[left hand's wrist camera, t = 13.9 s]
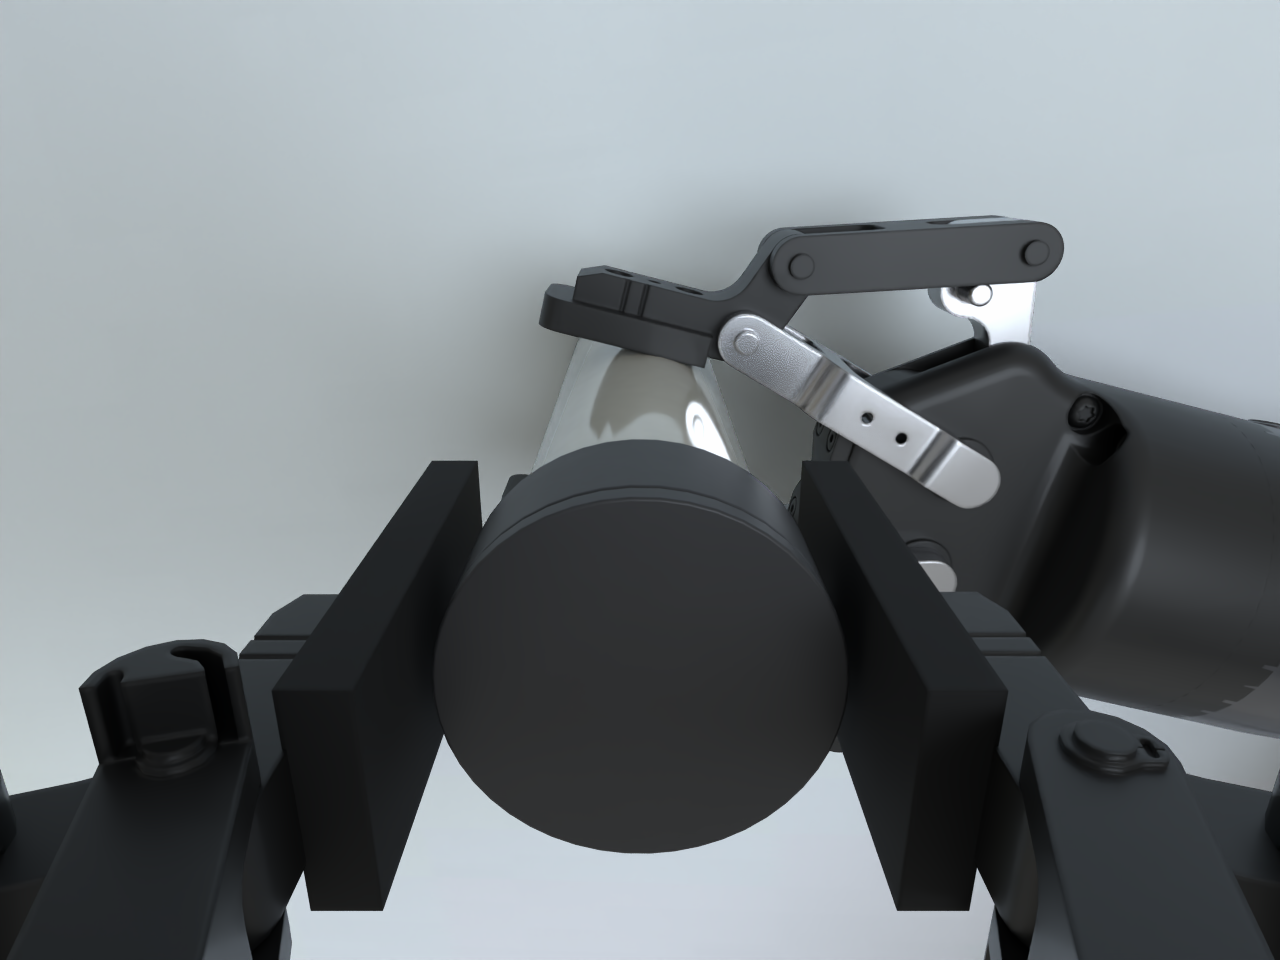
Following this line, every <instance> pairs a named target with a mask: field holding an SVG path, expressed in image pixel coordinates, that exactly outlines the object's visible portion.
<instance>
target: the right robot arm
mask: <svg viewBox="0 0 1280 960" xmlns="http://www.w3.org/2000/svg"><path fill="white" fill-rule="evenodd" d="M1063 253H1064V243H1063V238H1062V236H1061V234H1060V233H1059V231H1058V230H1057V229H1056V228H1055V227H1053V226H1052V225H1050V224H1047V223H1043V222H1037V221H1030V220H1023V219H1016V218H1009V217H1003V216H996V215H989V216H972V217H955V218H938V219H922V220H905V221H888V222H871V223H854V224H837V225H821V226H804V227H787V228H778V229H775V230H773V231H771V232H770V233H768V234H767V235H766V236H765V237H764V238H763V239H762V241H761V243H760V245H759V247H758V251H757V254H756V256H755V257H754V258H753V260H752V261H751V263H750V264H749V266H748V267H747V268H746V270H745V271H744V273H743V274H742V275H741V277H740V278H739V279H738V280H737V281H736V282H735V283H734V284H733V285H731V286H730V287H728V288H726V289H724V290H720V291H714V292H709V291H703V290H699V289H695V288H691V287H687V286H683V285H679V284H676V283H672V282H668V281H664V280H660V279H656V278H652V277H647V276H644V275H640V274H636V273H633V272H628V271H625V270H621V269H617V268H613V267H609V266H597V267H590V268H583V269H581V271H580V272H579V274H578V276H577V280H576V285H575V287H572V286H568V285H562V284H551V285H550V286H549V288H548V289H547V290H546V292H545V296H544V301H543V305H542V310H541V315H540V320H539V324H540V325H541V326H542V327H544V328H547V329H549V330H552V331H556V332H559V333H563V334H567V335H571V336H575V337H579V338H583V339H588V340H592V341H596V342H600V343H604V344H608V345H612V346H616V347H620V348H624V349H628V350H632V351H636V352H640V353H644V354H648V355H652V356H656V357H662V358H666V359H669V360H673V361H676V362H680V363H684V364H688V365H692V366H696V367H700V368H705V365H706V361H707V358H708V357H709V358H713V359H717V360H721V361H725V362H726V363H727V364H729V365H730V366H731V367H733V368H735V369H736V370H738V371H740V372H742V373H743V374H745V375H747V376H748V377H750V378H752V379H753V380H755V381H757V382H758V383H760V384H762V385H763V386H765V387H767V388H768V389H770V390H772V391H774V392H775V393H777V394H779V395H780V396H782V397H784V398H785V399H787V400H789V401H790V402H792V403H793V404H795V405H796V406H798V407H799V408H800V409H801V410H803V411H804V412H805V413H806V414H808V415H809V416H810V417H812V418H813V419H815V420H816V421H817V423H816V426H815V429H814V432H813V447H812V461H848V462H849V463H850V465H851V466H852V467H853V469H854V470H855V472H856V473H857V475H858V476H859V477H860V479H861V480H862V482H863V483H864V485H865V486H866V487H867V489H868V490H869V492H870V493H871V495H872V496H873V497H874V499H875V500H876V502H877V503H878V505H879V506H880V507H881V509H882V510H883V512H884V513H885V515H886V516H887V517H888V519H889V520H890V522H891V523H892V525H893V526H894V527H895V529H896V530H897V532H898V533H899V535H900V536H901V537H902V539H903V540H904V542H905V543H906V545H907V546H908V547H909V549H910V550H911V552H912V553H913V555H914V556H915V557H916V559H917V560H918V562H919V563H920V565H921V566H922V567H923V569H924V570H925V572H926V573H927V575H928V576H929V577H930V579H931V580H932V582H933V583H934V585H935V586H936V587H937V589H938V590H939V592H978V593H980V594H981V595H983V596H985V597H986V598H988V599H990V600H991V601H993V602H994V603H996V604H998V605H999V606H1001V607H1003V608H1004V609H1006V610H1007V611H1008V612H1009V613H1010V614H1011V615H1012V616H1013V618H1014V619H1015V620H1016V621H1017V622H1018V624H1019V625H1020V626H1021V627H1022V629H1023V630H1024V631H1025V632H1026V637H1030V638H1031V639H1032V641H1033V642H1034V643H1035V644H1036V646H1037V647H1038V648H1039V649H1040V650H1041V655H1042V656H1046V658H1047V659H1048V660H1049V661H1050V663H1051V664H1052V665H1053V666H1054V667H1055V669H1056V670H1057V671H1058V672H1059V674H1060V675H1061V676H1062V677H1063V678H1064V680H1065V681H1066V682H1067V683H1068V684H1069V686H1070V687H1071V688H1072V689H1073V691H1074V692H1075V693H1076V694H1077V695H1078V696H1080V697H1085V698H1089V699H1094V700H1098V701H1103V702H1107V703H1112V704H1116V705H1121V706H1126V707H1130V708H1135V709H1139V710H1144V711H1148V712H1153V713H1157V714H1162V715H1166V716H1171V717H1176V718H1180V719H1185V720H1189V721H1194V722H1198V723H1203V724H1207V725H1212V726H1216V727H1221V728H1225V729H1230V730H1234V731H1239V732H1243V733H1249V734H1255V735H1260V736H1266V737H1272V738H1278V739H1280V424H1278V423H1273V422H1268V421H1261V420H1248V421H1247V420H1243V419H1239V418H1235V417H1232V416H1228V415H1224V414H1220V413H1216V412H1212V411H1208V410H1204V409H1200V408H1196V407H1192V406H1188V405H1185V404H1181V403H1177V402H1173V401H1169V400H1165V399H1161V398H1157V397H1153V396H1149V395H1145V394H1142V393H1138V392H1134V391H1130V390H1126V389H1122V388H1118V387H1114V386H1110V385H1106V384H1102V383H1099V382H1095V381H1091V380H1087V379H1083V378H1079V377H1075V376H1071V375H1068V374H1065V373H1063V372H1062V371H1061V370H1059V369H1058V368H1057V367H1056V366H1055V365H1054V363H1053V362H1052V361H1051V360H1050V359H1049V357H1048V356H1047V355H1045V354H1044V353H1043V352H1042V351H1040V350H1039V349H1037V348H1036V347H1034V346H1031V345H1030V340H1031V331H1032V321H1033V311H1034V302H1035V292H1036V283H1037V281H1040V280H1043V279H1045V278H1046V277H1048V276H1049V275H1051V274H1052V273H1053V272H1054V271H1055V270H1056V268H1057V267H1058V265H1059V264H1060V262H1061V260H1062V257H1063ZM910 289H928V295H929V297H930V299H931V301H932V303H933V304H934V305H935V306H937V307H938V308H940V309H942V310H944V311H946V312H948V313H950V314H952V315H954V316H957V317H961V318H968V319H969V320H970V322H971V324H972V326H973V329H974V337H972V338H970V339H967V340H964V341H962V342H959V343H956V344H954V345H951V346H949V347H946V348H943V349H941V350H938V351H935V352H933V353H930V354H928V355H925V356H922V357H920V358H917V359H914V360H912V361H909V362H906V363H904V364H901V365H899V366H896V367H893V368H891V369H888V370H885V371H883V372H880V373H877V374H875V375H872V374H870V373H868V372H867V371H865V370H863V369H862V368H860V367H858V366H857V365H855V364H854V363H852V362H850V361H849V360H847V359H845V358H844V357H842V356H841V355H839V354H837V353H836V352H834V351H832V350H831V349H829V348H827V347H826V346H824V345H823V344H821V343H819V342H818V341H816V340H814V339H812V338H810V337H807V336H806V335H804V334H802V333H800V332H799V331H797V330H795V329H794V328H792V327H791V326H789V325H787V324H788V322H789V321H790V319H791V318H792V317H793V315H794V314H795V313H796V311H797V310H798V309H799V307H800V306H801V305H802V303H803V302H804V300H805V299H806V298H807V296H808V295H824V294H841V293H858V292H876V291H893V290H910ZM527 476H528V475H525V474H517V475H513V476H511V477H510V478H509V481H508V483H507V486H506V488H505V490H504V493H503V495H502V499H503V498H504V497H505V496H506V495H507V494H508V493H509V492H510V491H511V490H512V489H513V488H514V487H515V486H516V485H517V484H518V483H519V482H520V481H521V480H523V479H524V478H526V477H527ZM800 488H801V480H800V482H799V483H798V485H797V486H796V488H795V489H794V491H793V494H792V497H791V500H790V503H789V504H783V505H784V506H785V507H786V509H787V510H788V512H789V513H790V514H791V516H792V517H793V518H794V520H795V522H796V524H797V526H798V516H799V502H800ZM830 751H832V752H842V749H841V746H840V743H839V740H838V738H837V736H836V738H835V740H834V743H833V745H832V747H831V749H830Z"/></svg>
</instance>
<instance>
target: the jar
mask: <svg viewBox="0 0 1280 960" xmlns="http://www.w3.org/2000/svg"><path fill="white" fill-rule="evenodd" d="M629 439H648V440H662V441H669V442H676V443H682V444H686V445H689V446H693V447H697V448H700V449H704V450H706V451H709V452H711V453H714V454H716V455H718V456H721V457H723V458H726V459H728V460H729V461H731V462H733V463H734V464H736V465H738V466H740V467H741V468H743V469H745V470H746V471H748V472H749V469H748V466H747V464H746V461H745V458H744V455H743V452H742V449H741V447H740V444H739V441H738V438H737V435H736V433H735V430H734V427H733V424H732V421H731V418H730V416H729V413H728V410H727V407H726V404H725V401H724V399H723V396H722V393H721V390H720V387H719V384H718V382H717V379H716V376H715V373H714V370H713V367H712V365H711V362H710V359H709V357H708V358H707V361H706V365H705V368H700V367H696V366H692V365H688V364H684V363H680V362H676V361H673V360H669V359H666V358H662V357H656V356H652V355H648V354H644V353H640V352H636V351H632V350H628V349H624V348H620V347H616V346H612V345H608V344H604V343H600V342H596V341H592V340H588V339H583V338H579V340H578V343H577V345H576V348H575V350H574V353H573V356H572V359H571V362H570V365H569V367H568V370H567V373H566V376H565V379H564V382H563V384H562V387H561V390H560V393H559V396H558V399H557V401H556V404H555V407H554V410H553V413H552V416H551V418H550V421H549V424H548V427H547V430H546V433H545V435H544V438H543V441H542V444H541V447H540V450H539V452H538V455H537V458H536V461H535V464H534V467H533V469H532V472H531V473H533V472H534V471H535V470H537V469H538V468H540V467H541V466H543V465H545V464H547V463H549V462H551V461H553V460H554V459H556V458H558V457H560V456H562V455H565V454H568V453H570V452H573V451H576V450H578V449H581V448H584V447H588V446H592V445H596V444H600V443H605V442H610V441H620V440H629ZM749 473H750V472H749Z"/></svg>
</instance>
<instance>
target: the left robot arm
mask: <svg viewBox="0 0 1280 960" xmlns="http://www.w3.org/2000/svg"><path fill="white" fill-rule="evenodd" d="M798 528H799V529H800V531H801V533H802V535H803V537H804V539H805V541H806V544H807V546H808V548H809V550H810V553H811V555H812V557H813V560H814V562H815V564H816V566H817V569H818V571H819V573H820V576H821V578H822V580H823V583H824V585H825V587H826V589H827V592H828V594H829V596H830V599H831V601H832V603H833V605H834V608H835V610H836V612H837V615H838V618H839V621H840V624H841V627H842V629H843V632H844V635H845V641H846V646H847V651H848V657H849V689H848V697H847V705H846V708H845V712H844V716H843V719H842V723H841V726H840V729H839V731H838V734H837V738H838V740H839V743H840V746H841V749H842V752H843V755H844V758H845V761H846V764H847V767H848V769H849V772H850V775H851V778H852V781H853V784H854V787H855V790H856V793H857V796H858V799H859V801H860V804H861V807H862V810H863V813H864V816H865V819H866V822H867V825H868V828H869V830H870V833H871V836H872V839H873V842H874V845H875V848H876V851H877V854H878V857H879V860H880V862H881V865H882V868H883V871H884V874H885V877H886V880H887V883H888V886H889V889H890V891H891V894H892V897H893V900H894V903H895V906H896V909H897V911H969V909H970V903H971V898H972V892H973V887H974V881H975V875H976V870H977V868H978V870H979V872H980V874H981V877H982V879H983V881H984V883H985V885H986V887H987V889H988V891H989V893H990V895H991V897H992V900H993V902H994V904H995V905H994V910H993V915H992V920H991V926H990V931H989V936H988V941H987V946H986V952H985V957H984V960H1280V770H1279V773H1278V776H1277V779H1276V782H1275V785H1274V788H1273V792H1269V791H1265V790H1260V789H1255V788H1250V787H1245V786H1240V785H1235V784H1230V783H1225V782H1220V781H1215V780H1210V779H1205V778H1201V777H1197V776H1193V775H1190V774H1186V772H1185V770H1184V768H1183V766H1182V764H1181V762H1180V761H1179V760H1178V759H1177V757H1176V756H1175V755H1174V753H1173V752H1172V751H1171V750H1170V748H1169V747H1168V746H1167V745H1166V744H1165V743H1163V742H1162V741H1160V740H1159V739H1158V738H1156V737H1155V736H1153V735H1152V734H1151V733H1149V732H1148V731H1146V730H1145V729H1143V728H1141V727H1138V726H1136V725H1134V724H1132V723H1129V722H1127V721H1125V720H1123V719H1120V718H1118V717H1115V716H1111V715H1107V714H1103V713H1099V712H1095V711H1090V710H1089V709H1088V708H1087V706H1086V705H1085V704H1084V703H1083V701H1082V700H1081V699H1080V698H1079V697H1078V695H1077V694H1076V693H1075V692H1074V691H1073V689H1072V688H1071V687H1070V686H1069V684H1068V683H1067V682H1066V681H1065V680H1064V678H1063V677H1062V676H1061V675H1060V674H1059V672H1058V671H1057V670H1056V669H1055V667H1054V666H1053V665H1052V664H1051V663H1050V661H1049V660H1048V659H1047V658H1046V656H1042V655H1041V650H1040V649H1039V648H1038V647H1037V646H1036V644H1035V643H1034V642H1033V641H1032V639H1031V638H1030V637H1026V632H1025V631H1024V630H1023V629H1022V627H1021V626H1020V625H1019V624H1018V622H1017V621H1016V620H1015V619H1014V618H1013V616H1012V615H1011V614H1010V613H1009V612H1008V611H1007V610H1006V609H1004V608H1003V607H1001V606H999V605H998V604H996V603H994V602H993V601H991V600H990V599H988V598H986V597H985V596H983V595H981V594H980V593H978V592H939V590H938V589H937V587H936V586H935V585H934V583H933V582H932V580H931V579H930V577H929V576H928V575H927V573H926V572H925V570H924V569H923V567H922V566H921V565H920V563H919V562H918V560H917V559H916V557H915V556H914V555H913V553H912V552H911V550H910V549H909V547H908V546H907V545H906V543H905V542H904V540H903V539H902V537H901V536H900V535H899V533H898V532H897V530H896V529H895V527H894V526H893V525H892V523H891V522H890V520H889V519H888V517H887V516H886V515H885V513H884V512H883V510H882V509H881V507H880V506H879V505H878V503H877V502H876V500H875V499H874V497H873V496H872V495H871V493H870V492H869V490H868V489H867V487H866V486H865V485H864V483H863V482H862V480H861V479H860V477H859V476H858V475H857V473H856V472H855V470H854V469H853V467H852V466H851V465H850V463H849V462H848V461H802V474H801V488H800V502H799V516H798ZM481 530H482V516H481V502H480V488H479V474H478V461H432V462H431V463H430V465H429V466H428V467H427V469H426V470H425V472H424V473H423V475H422V476H421V477H420V479H419V480H418V482H417V483H416V485H415V486H414V487H413V489H412V490H411V492H410V493H409V495H408V496H407V497H406V499H405V500H404V502H403V503H402V505H401V506H400V507H399V509H398V510H397V512H396V513H395V515H394V516H393V517H392V519H391V520H390V522H389V523H388V525H387V526H386V527H385V529H384V530H383V532H382V533H381V535H380V536H379V537H378V539H377V540H376V542H375V543H374V545H373V546H372V547H371V549H370V550H369V552H368V553H367V555H366V556H365V557H364V559H363V560H362V562H361V563H360V565H359V566H358V567H357V569H356V570H355V572H354V573H353V575H352V576H351V577H350V579H349V580H348V582H347V583H346V585H345V586H344V587H343V589H342V590H341V592H340V593H339V594H303V595H302V596H300V597H299V598H297V599H295V600H294V601H292V602H291V603H289V604H287V605H286V606H284V607H282V608H281V609H279V610H278V611H276V612H274V613H273V614H272V615H271V616H270V617H269V619H268V620H267V621H266V622H265V624H264V625H263V626H262V627H261V628H260V630H259V631H258V632H257V633H256V635H255V636H254V637H255V638H254V640H251V641H250V642H249V643H248V644H247V646H246V647H245V648H244V649H243V650H242V652H241V653H240V654H239V659H238V656H237V652H235V651H234V650H233V649H231V648H230V647H229V646H227V645H226V644H224V643H219V642H214V641H209V640H205V639H198V640H176V641H171V642H166V643H162V644H157V645H152V646H148V647H144V648H142V649H139V650H137V651H134V652H131V653H129V654H126V655H124V656H121V657H118V658H116V659H115V660H113V661H111V662H110V663H108V664H107V665H105V666H103V667H102V668H100V669H98V670H97V671H95V672H93V674H92V675H91V676H90V677H89V678H88V679H87V680H86V681H85V682H84V683H83V684H82V685H81V686H80V687H79V692H80V695H81V699H82V703H83V706H84V710H85V714H86V717H87V721H88V725H89V728H90V732H91V736H92V739H93V743H94V747H95V750H96V754H97V758H98V761H99V766H98V768H97V770H96V772H95V774H94V776H93V778H90V779H86V780H82V781H78V782H74V783H69V784H64V785H59V786H54V787H49V788H44V789H39V790H35V791H30V792H25V793H20V794H15V795H10V796H9V795H8V792H7V788H6V785H5V782H4V779H3V776H2V773H1V770H0V960H290V955H291V946H292V940H291V933H290V926H289V920H288V915H287V910H286V906H287V904H288V902H289V900H290V898H291V896H292V893H293V891H294V889H295V887H296V885H297V883H298V881H299V879H300V877H301V875H302V872H303V870H304V875H305V881H306V887H307V892H308V898H309V903H310V909H311V911H383V909H384V906H385V903H386V900H387V897H388V894H389V891H390V889H391V886H392V883H393V880H394V877H395V874H396V871H397V868H398V865H399V862H400V859H401V857H402V854H403V851H404V848H405V845H406V842H407V839H408V836H409V833H410V830H411V828H412V825H413V822H414V819H415V816H416V813H417V810H418V807H419V804H420V801H421V798H422V796H423V793H424V790H425V787H426V784H427V781H428V778H429V775H430V772H431V769H432V767H433V764H434V761H435V758H436V755H437V752H438V749H439V746H440V743H441V740H442V737H443V735H444V732H443V730H442V727H441V725H440V722H439V719H438V714H437V710H436V706H435V702H434V696H433V683H432V666H433V652H434V647H435V643H436V639H437V634H438V630H439V627H440V624H441V622H442V619H443V617H444V614H445V612H446V609H447V607H448V604H449V602H450V600H451V598H452V595H453V593H454V591H455V588H456V586H457V584H458V582H459V579H460V577H461V575H462V572H463V570H464V568H465V565H466V563H467V561H468V559H469V556H470V554H471V552H472V549H473V547H474V545H475V542H476V540H477V538H478V536H479V533H480V531H481Z"/></svg>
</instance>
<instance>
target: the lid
mask: <svg viewBox="0 0 1280 960" xmlns="http://www.w3.org/2000/svg"><path fill="white" fill-rule="evenodd" d="M432 683H433V696H434V702H435V706H436V710H437V714H438V719H439V722H440V725H441V727H442V730H443V732H444V735H445V737H446V740H447V742H448V744H449V746H450V748H451V750H452V751H453V753H454V755H455V757H456V758H457V760H458V762H459V764H460V765H461V766H462V768H463V769H464V770H465V772H466V773H467V774H468V775H469V777H470V778H471V779H472V781H473V782H474V783H475V784H476V785H477V786H478V787H479V788H480V789H481V790H482V791H483V792H484V793H485V794H486V795H487V796H488V797H489V798H490V799H491V800H492V801H494V802H495V803H496V804H497V805H499V806H500V807H501V808H502V809H504V810H505V811H506V812H508V813H509V814H510V815H512V816H514V817H515V818H517V819H519V820H520V821H522V822H523V823H525V824H527V825H528V826H530V827H532V828H534V829H536V830H539V831H541V832H543V833H545V834H547V835H549V836H551V837H554V838H557V839H560V840H563V841H566V842H569V843H572V844H575V845H579V846H583V847H588V848H592V849H597V850H602V851H611V852H619V853H661V852H672V851H679V850H684V849H689V848H694V847H699V846H702V845H706V844H709V843H712V842H716V841H719V840H722V839H725V838H727V837H729V836H732V835H734V834H736V833H739V832H741V831H743V830H746V829H747V828H749V827H751V826H753V825H754V824H756V823H758V822H760V821H761V820H763V819H765V818H767V817H768V816H769V815H771V814H772V813H774V812H775V811H776V810H778V809H779V808H780V807H782V806H783V805H784V804H786V803H787V802H788V801H789V800H790V799H791V798H792V797H793V796H794V795H795V794H796V793H798V792H799V791H800V790H801V789H802V788H803V787H804V786H805V784H806V783H807V782H808V781H809V780H810V778H811V777H812V776H813V775H814V774H815V772H816V771H817V770H818V769H819V767H820V765H821V764H822V762H823V761H824V759H825V757H826V756H827V754H828V753H829V751H830V749H831V747H832V745H833V743H834V740H835V738H836V736H837V734H838V731H839V729H840V726H841V723H842V719H843V716H844V712H845V708H846V705H847V697H848V689H849V657H848V651H847V646H846V641H845V635H844V632H843V629H842V627H841V624H840V621H839V618H838V615H837V612H836V610H835V608H834V605H833V603H832V601H831V599H830V596H829V594H828V592H827V589H826V587H825V585H824V583H823V580H822V578H821V576H820V573H819V571H818V569H817V566H816V564H815V562H814V560H813V557H812V555H811V553H810V550H809V548H808V546H807V544H806V541H805V539H804V537H803V535H802V533H801V531H800V529H799V528H798V526H797V524H796V522H795V520H794V518H793V517H792V516H791V514H790V513H789V512H788V510H787V509H786V507H785V506H784V505H783V503H782V502H781V501H780V500H779V499H778V498H777V497H776V496H775V495H774V494H773V493H772V492H771V490H770V489H769V488H768V487H767V486H766V485H765V484H763V483H762V482H761V481H759V480H758V479H757V478H756V477H754V476H753V475H752V474H750V473H749V472H748V471H746V470H745V469H743V468H741V467H740V466H738V465H736V464H734V463H733V462H731V461H729V460H728V459H726V458H723V457H721V456H718V455H716V454H714V453H711V452H709V451H706V450H704V449H700V448H697V447H693V446H689V445H686V444H682V443H676V442H669V441H662V440H648V439H629V440H620V441H610V442H605V443H600V444H596V445H592V446H588V447H584V448H581V449H578V450H576V451H573V452H570V453H568V454H565V455H562V456H560V457H558V458H556V459H554V460H553V461H551V462H549V463H547V464H545V465H543V466H541V467H540V468H538V469H537V470H535V471H534V472H533V473H531V474H530V475H528V476H527V477H526V478H524V479H523V480H521V481H520V482H519V483H518V484H517V485H516V486H515V487H514V488H513V489H512V490H511V491H510V492H509V493H508V494H507V495H506V496H505V497H504V498H503V499H502V500H501V502H500V503H499V504H498V505H497V507H496V508H495V509H494V510H493V512H492V513H491V514H490V516H489V518H488V519H487V521H486V523H485V525H484V526H483V528H482V530H481V531H480V533H479V536H478V538H477V540H476V542H475V545H474V547H473V549H472V552H471V554H470V556H469V559H468V561H467V563H466V565H465V568H464V570H463V572H462V575H461V577H460V579H459V582H458V584H457V586H456V588H455V591H454V593H453V595H452V598H451V600H450V602H449V604H448V607H447V609H446V612H445V614H444V617H443V619H442V622H441V624H440V627H439V630H438V634H437V639H436V643H435V647H434V652H433V666H432Z"/></svg>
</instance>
